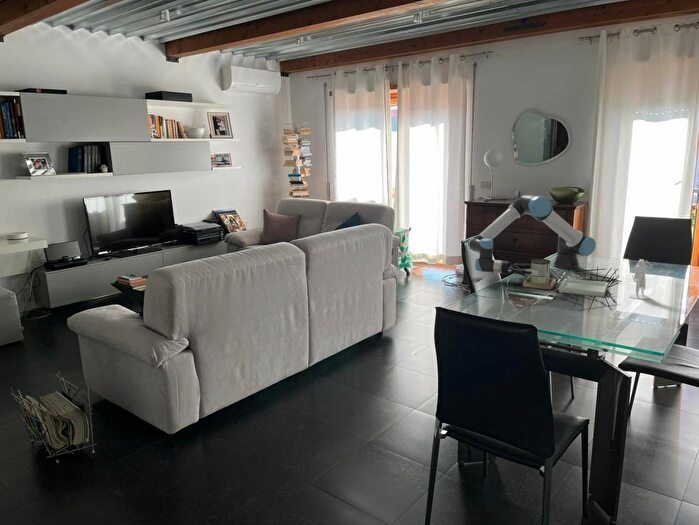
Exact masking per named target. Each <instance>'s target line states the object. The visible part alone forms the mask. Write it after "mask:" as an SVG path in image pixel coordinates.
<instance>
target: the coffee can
mask: <svg viewBox="0 0 699 525" xmlns="http://www.w3.org/2000/svg"><path fill="white" fill-rule="evenodd" d="M530 263H531V269H530V270H536V271H538V276H535V275H529V276H530V281H529V282H531V283H541V284H550V283H549V278H550V273H551V271H550V270H551V260H550V259H547V258H546V259H545V258H532V259H531V260H530Z"/></svg>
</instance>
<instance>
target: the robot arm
mask: <svg viewBox="0 0 699 525" xmlns="http://www.w3.org/2000/svg"><path fill="white" fill-rule="evenodd" d="M524 215H529V216H531V217H533V218H534V219H535V220H536V221H537V222H542V223H544V224H545V225H546V226H547V227H549V228H550V230H552V231H553V232H555V233H556V234H557V235H558V239H557V240H558V241H557V254H556V257H555V259H554V261H553V267H555V268H557V269H562V270H563V269H564V270H575V269H579V267H580V262H579V257H578V255H580V256H585V257H588V256H590V255H592V254H593V253H594V252H595V250H596V244H597V242H596V240H595V239H594V237H593V238H592V237H591V236H587V235H586V234H585V233H584V232H582V230H577V229H575V228H574V227H573V226H572V225H570V224H569V223H568V222H567V221H566V220H565V219H563V218H562V217H561V216H560V215H559V214H558V213H556V212H555V211H554V208H553V205H552V203H551V201H550V200H549V198H547V197H545V196H542V195H534V194H533V195H532V194H523V195H522V196H519V198H517V199H516V200H514V201H513V202H512V203H510V205H508V208H507V209H506V210H505V211H504V212H503V213H502V214H500V216H498V217H497V218H496V219H495V220H494V221H493V222H491V224H489V225H488V226H487V227H486V228H485V229H484V230H483V231H482V232H481V233H479V234H478V235H477V236H476V237H471V238H469V240H468V241H467V244H468V245H467V244H466V245H467V248H468V247H469V248H468V249H469V250H471V251H472V252H475V253H478V254H479V257H478V258H476V259H475V262H474V269H475V270H476V272H482V273H493V274H495V273H496V275H498V274H504V275H509V274H510V273H512V274H515V275H519V276H523V277H525V276H526V275H528V276H530V275H535V276H538V271H536V270H531V262H530V263H513V264H511V262H510V261H509V260H499V259H493V253H494V252H493V251H494V241H493V239H494V238H496V237H497V236H498V235H499V234H500V233H501V232H502V231H504V229H506V228H507V227H508V226H509V225H511V223H513V222H514V221H515V220H517V219H520V218H521V217H522V216H524Z"/></svg>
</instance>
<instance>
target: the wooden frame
mask: <svg viewBox="0 0 699 525" xmlns="http://www.w3.org/2000/svg"><path fill="white" fill-rule="evenodd" d="M556 282H557V281H556V278H550V277H549V284H541V283H531V282H530V275H528V277H526V278H525V279H524V281H523V282H522V287H525V288H535V289H542V290H543V289H544V290H552V289H553V287H554V286H555V284H556Z"/></svg>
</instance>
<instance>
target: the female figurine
mask: <svg viewBox="0 0 699 525" xmlns="http://www.w3.org/2000/svg"><path fill="white" fill-rule="evenodd" d="M648 265H649V266H648ZM653 267H654V265H653V264H652V263H650V262H649V261H648V260H644V259H643V258H642V259H641V258H640V259H639V260H638V262H637V263H636V265H635V272H634V275H633V273H632V272H630V274H631V275H632V277H631V278H632V280H633V282H635V286H636V287H635V293H631V294H629V295H628V296H629V297H630V298H632V299H636V300H650V299H651V297H650V296H649V295H647V294H644V293H645V292H644V291H645V290H646V274H645V273H646V271H647V269H653ZM640 291H641V294H639V292H640Z"/></svg>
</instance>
